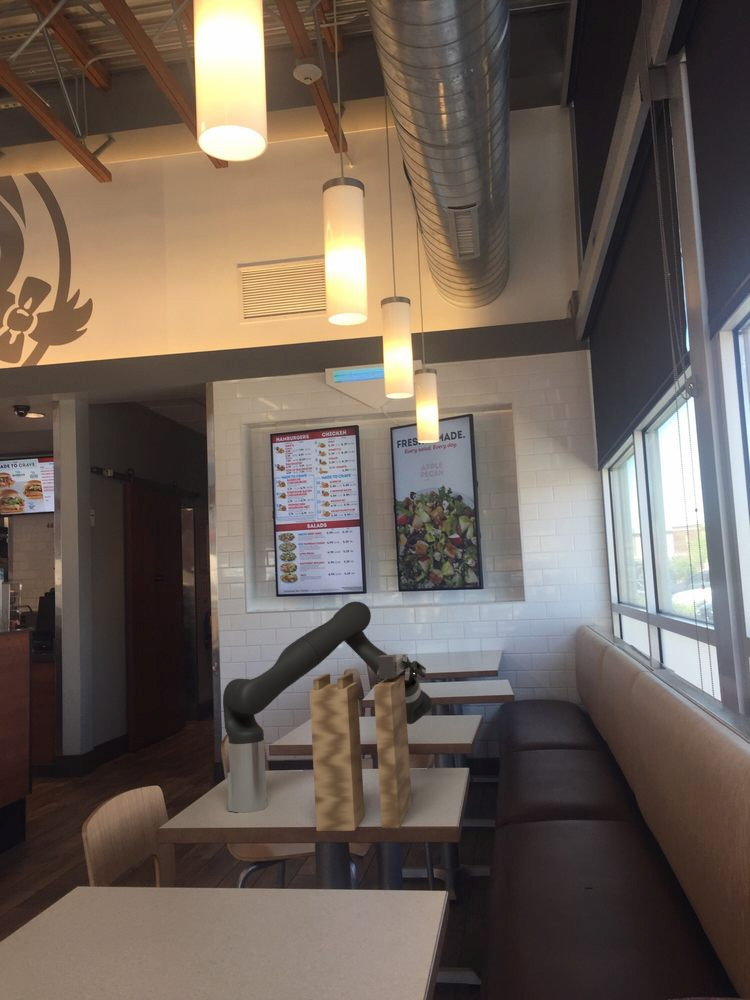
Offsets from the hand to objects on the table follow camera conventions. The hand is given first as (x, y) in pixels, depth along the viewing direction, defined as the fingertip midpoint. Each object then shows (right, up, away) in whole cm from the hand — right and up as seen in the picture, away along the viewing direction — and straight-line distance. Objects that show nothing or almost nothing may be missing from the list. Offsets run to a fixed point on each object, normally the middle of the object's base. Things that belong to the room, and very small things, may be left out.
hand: (395, 658), depth 217 cm
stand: (-8, -35, -15) cm, 39 cm away
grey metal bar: (0, -3, -3) cm, 4 cm away
